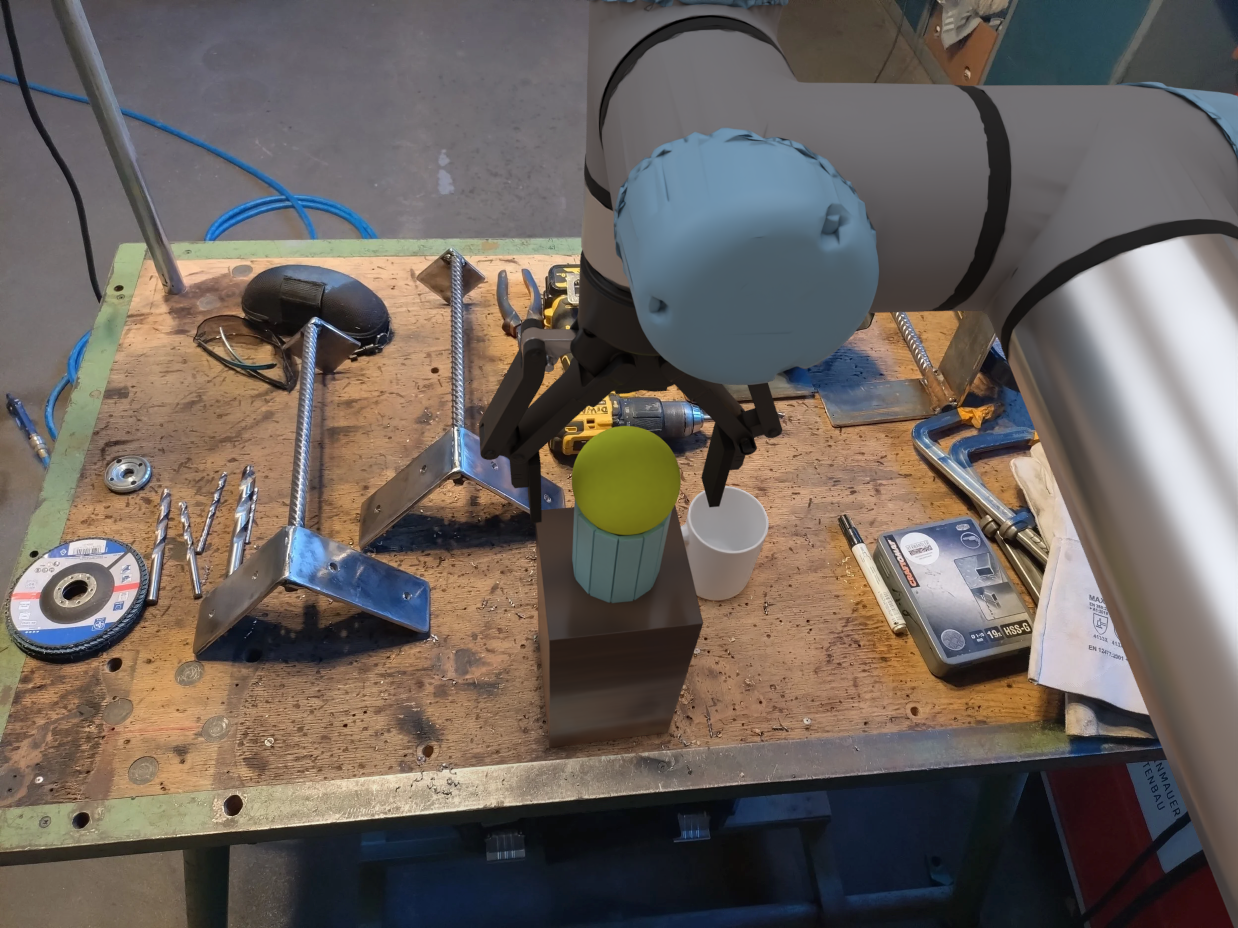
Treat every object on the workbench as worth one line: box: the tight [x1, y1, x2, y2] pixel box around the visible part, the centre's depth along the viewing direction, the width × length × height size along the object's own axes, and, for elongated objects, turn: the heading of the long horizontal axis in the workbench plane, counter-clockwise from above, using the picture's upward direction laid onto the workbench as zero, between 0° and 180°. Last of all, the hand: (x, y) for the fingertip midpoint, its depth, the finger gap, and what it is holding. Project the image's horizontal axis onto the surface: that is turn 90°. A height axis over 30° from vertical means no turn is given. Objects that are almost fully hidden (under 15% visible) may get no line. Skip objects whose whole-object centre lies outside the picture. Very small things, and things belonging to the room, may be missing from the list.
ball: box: [571, 425, 682, 535], centre depth 56 cm, size 8×8×8 cm
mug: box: [680, 485, 770, 601], centre depth 89 cm, size 9×12×11 cm
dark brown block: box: [534, 504, 704, 749], centre depth 74 cm, size 12×12×24 cm
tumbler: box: [572, 499, 672, 603], centre depth 61 cm, size 7×7×9 cm
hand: (623, 499), depth 58 cm, fingers open, 12 cm apart
